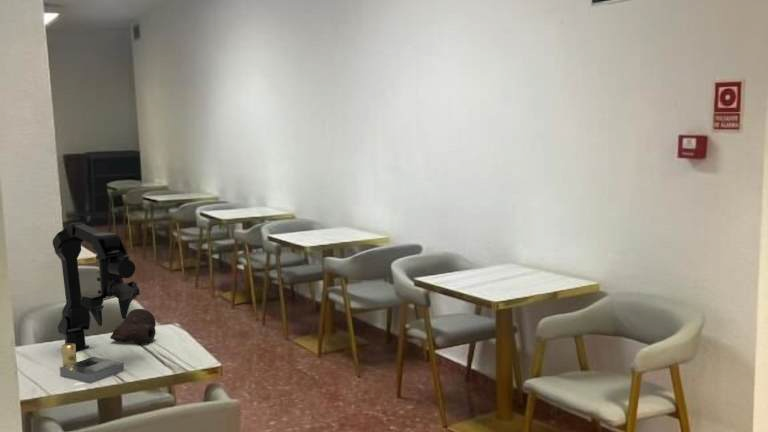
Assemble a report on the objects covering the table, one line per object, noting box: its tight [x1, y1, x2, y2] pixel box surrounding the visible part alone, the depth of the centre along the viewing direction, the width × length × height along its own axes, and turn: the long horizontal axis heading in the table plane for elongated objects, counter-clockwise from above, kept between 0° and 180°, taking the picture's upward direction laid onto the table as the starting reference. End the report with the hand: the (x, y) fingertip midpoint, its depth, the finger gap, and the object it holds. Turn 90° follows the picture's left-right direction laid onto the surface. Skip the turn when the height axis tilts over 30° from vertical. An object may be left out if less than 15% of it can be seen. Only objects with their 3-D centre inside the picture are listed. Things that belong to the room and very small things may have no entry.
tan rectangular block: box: [61, 343, 78, 367], centre depth 230 cm, size 4×4×7 cm
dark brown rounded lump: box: [110, 308, 156, 345], centre depth 259 cm, size 10×15×15 cm
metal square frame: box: [59, 356, 125, 384], centre depth 224 cm, size 14×12×3 cm
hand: (112, 322), depth 233 cm, fingers open, 9 cm apart
